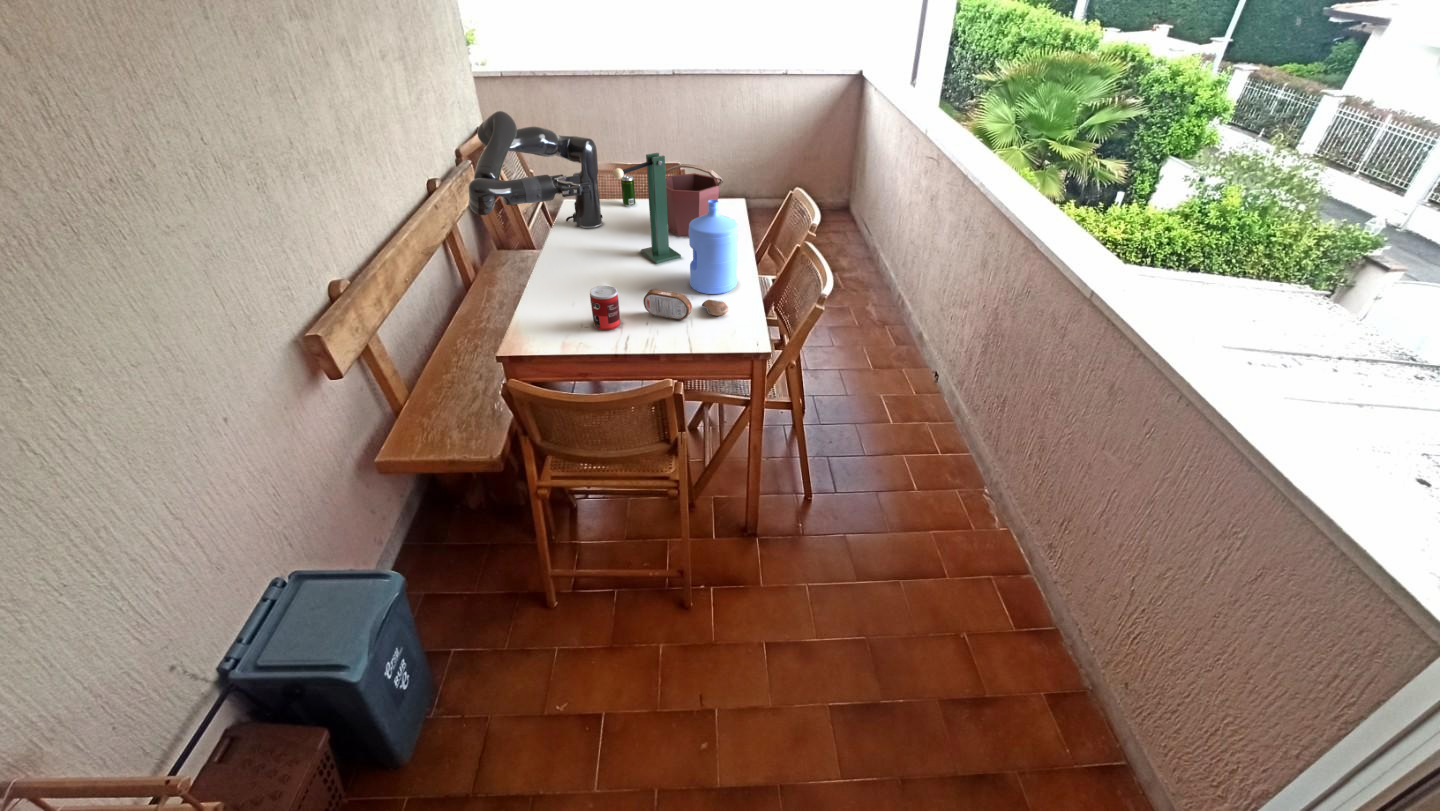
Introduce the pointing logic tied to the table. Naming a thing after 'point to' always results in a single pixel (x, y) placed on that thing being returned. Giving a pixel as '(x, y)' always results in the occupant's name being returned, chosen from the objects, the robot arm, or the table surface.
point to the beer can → (628, 190)
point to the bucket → (689, 197)
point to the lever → (630, 169)
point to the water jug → (713, 252)
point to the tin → (667, 304)
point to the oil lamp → (715, 307)
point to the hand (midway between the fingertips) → (585, 182)
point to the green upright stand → (658, 212)
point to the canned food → (605, 307)
